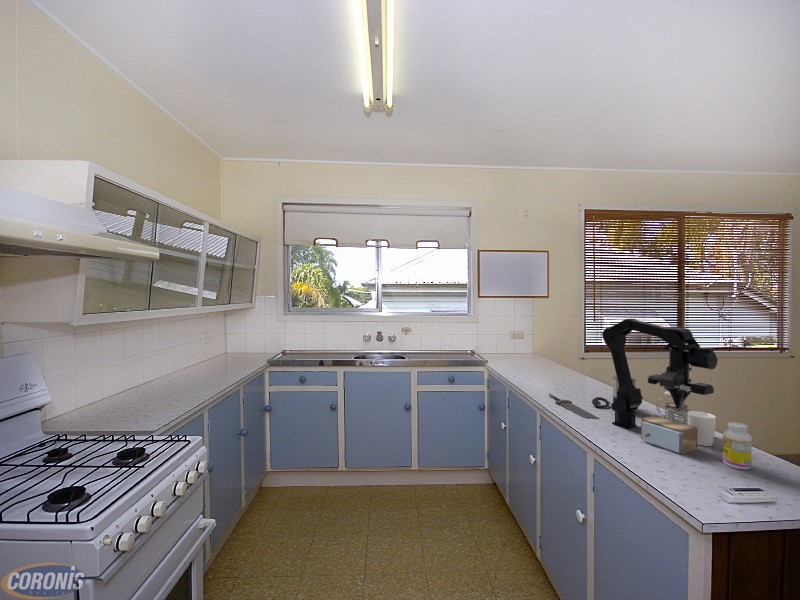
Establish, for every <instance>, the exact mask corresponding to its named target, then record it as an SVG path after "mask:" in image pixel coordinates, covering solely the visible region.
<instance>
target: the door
mask: <svg viewBox="0 0 800 600" xmlns="http://www.w3.org/2000/svg"><path fill="white" fill-rule="evenodd" d="M641 440H642V441H643V442H646V443H649V444H652V445H655V446H657V447H661V448H663V449H667V450H669V451H671V452H672V451H673V452H675V453H678V454H681V455H684V454H683V432H677V431H674V430H671V429H667V428H664V427H661V426H657V425H654V424H651V423H647V422H642V439H641Z"/></svg>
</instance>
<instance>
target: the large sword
mask: <svg viewBox="0 0 800 600" xmlns="http://www.w3.org/2000/svg"><path fill="white" fill-rule="evenodd" d="M548 396H550V397H552V398H553V399H555V401H554V404H555V405H558V406H562V407H563V408H566V409H568V410H569V411H571V412H572V413H573V414H574V413H575V414H576V415H578V416H580V417H581V418H583V419H594V420H595V419H596V420H600V417H598V416H596V415H594V414H593V413H591V412H589V411H587V410H586V409H583V408H581V407H579V406H578V405H576V404H574V403H573V401H572V400H569V399H560V398H558V397H556V396H555V395H553V394H551V393H548Z"/></svg>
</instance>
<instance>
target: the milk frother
mask: <svg viewBox="0 0 800 600" xmlns="http://www.w3.org/2000/svg"><path fill="white" fill-rule="evenodd" d="M612 379H613V380H612V403H613V402H615V401H616V400H617V391H618V387H619V384H618V379H617V375H614V376H613V375H612ZM631 379H632V383H633V385H634V386H635V387H636V381H637V378H635V377H632V376H631ZM601 401H603V402H604V403H605V404H604V405H601ZM591 403H592V405H593V406H594V407H596V408H598V409H599V408H601V409H606V408H607V409H608V407H609V406H610V405H611V404H612V403H611V402H610V401H609V400H608V399H606V398H604V397H601V396H600V397H599V396H597V397H594V398H592V400H591ZM633 411H635V413H636V411H637V410H633ZM613 412H615V410H613Z"/></svg>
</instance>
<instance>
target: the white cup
mask: <svg viewBox="0 0 800 600" xmlns="http://www.w3.org/2000/svg"><path fill="white" fill-rule="evenodd" d="M687 414H688V425H691V426H694V427H697V446H703V447H712V446H713V445H714V438H715V431H716V416H715V415H714V414H711V413H708V412H703V411H695V410H694V411H693V410H689V412H688V413H687Z"/></svg>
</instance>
